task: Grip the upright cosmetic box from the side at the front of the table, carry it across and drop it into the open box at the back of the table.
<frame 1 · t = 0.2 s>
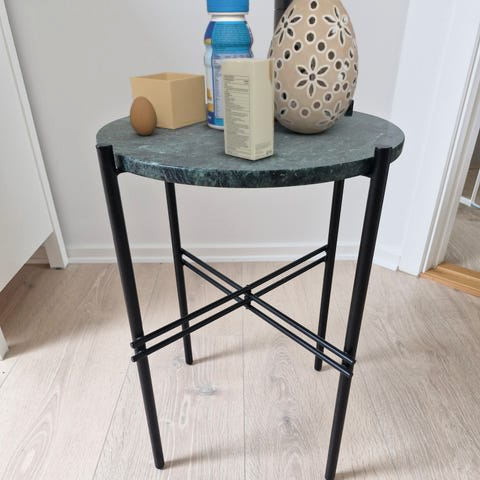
ornament: (306, 133, 77), on the table
cosmetic box: (248, 156, 66), on the table
open box: (171, 121, 85), on the table
egg: (145, 136, 76), on the table
beverage bottle: (230, 127, 82), on the table
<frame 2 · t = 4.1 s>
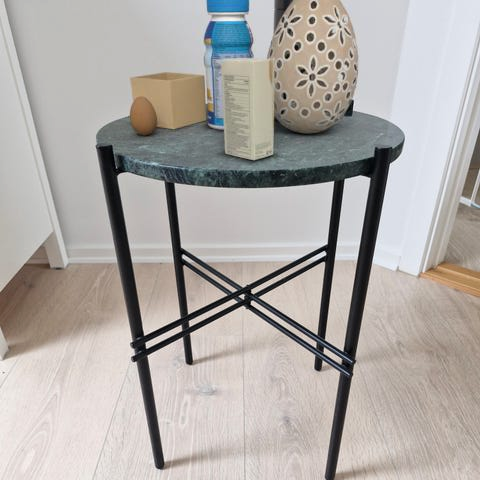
nothing on the table moved.
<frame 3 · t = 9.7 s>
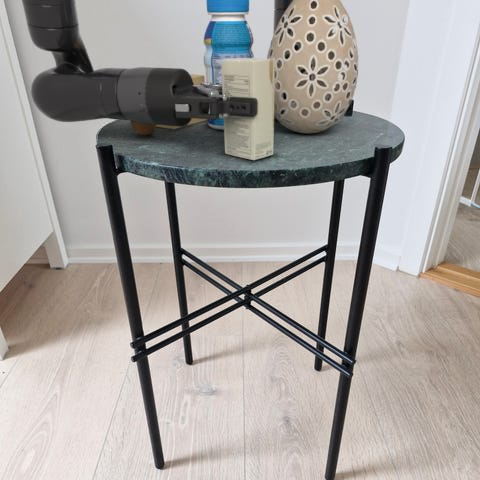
hand: (264, 103, 61), 7 cm above the table, tool horizontal, fingers closed on cosmetic box, 6 cm apart
cosmetic box: (248, 156, 66), on the table, touching gripper
everything else where it was.
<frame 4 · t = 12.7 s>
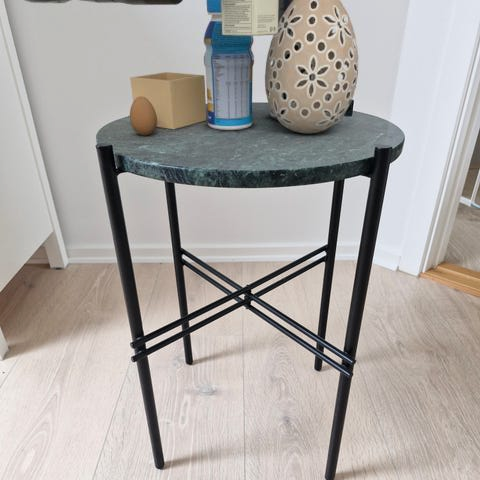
cosmetic box: (248, 37, 57), point 15 cm above the table, touching gripper
everything else where it was.
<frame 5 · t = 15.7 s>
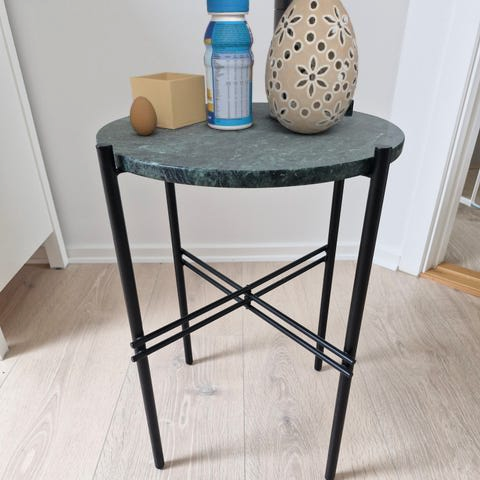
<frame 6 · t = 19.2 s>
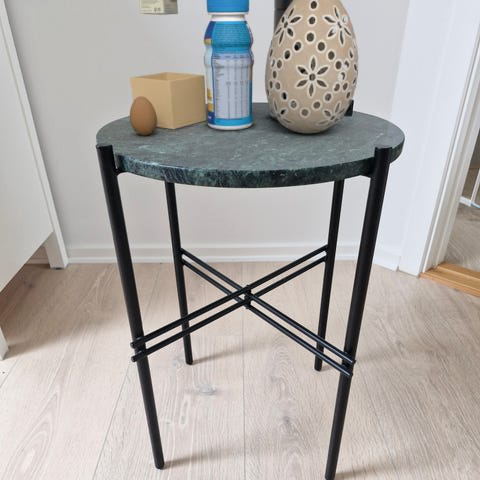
cosmetic box: (160, 16, 75), point 17 cm above the table, touching gripper
everything else where it was.
when the fingers open (14 cm above the table, at t = 21.9 s): cosmetic box drops 1 cm, resting on open box.
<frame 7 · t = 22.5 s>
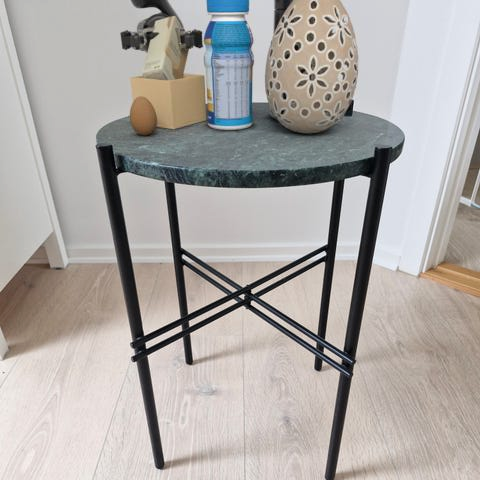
hand: (162, 41, 75), 13 cm above the table, tool horizontal, fingers open, 8 cm apart
cosmetic box: (160, 86, 80), point 6 cm above the table, touching open box
everything else where it was.
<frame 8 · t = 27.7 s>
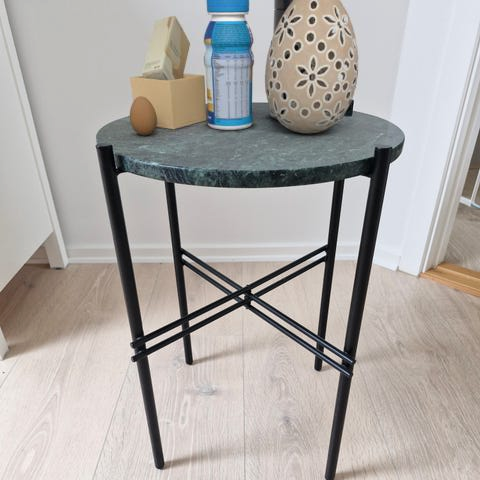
nothing on the table moved.
at the end: cosmetic box inside the target area in the open box (2.1 cm from its centre), point 6.2 cm above the open box's base; the gripper is holding nothing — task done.
